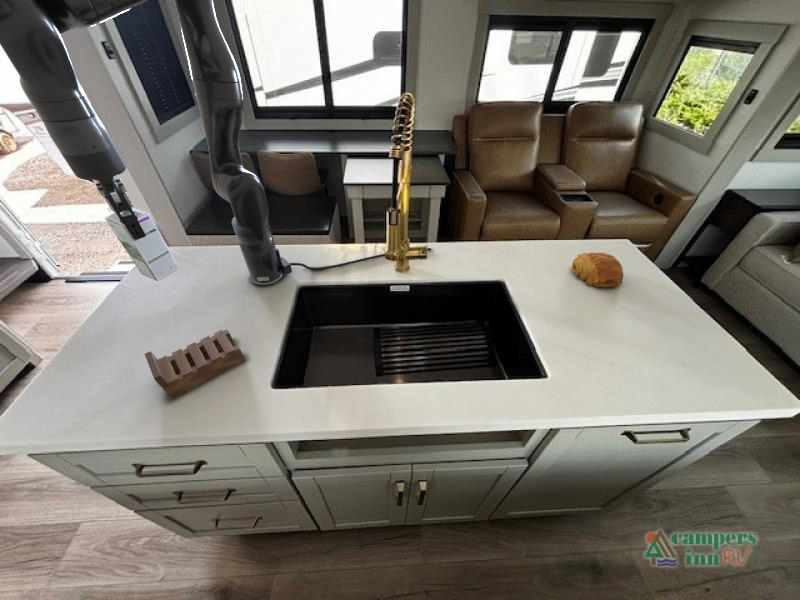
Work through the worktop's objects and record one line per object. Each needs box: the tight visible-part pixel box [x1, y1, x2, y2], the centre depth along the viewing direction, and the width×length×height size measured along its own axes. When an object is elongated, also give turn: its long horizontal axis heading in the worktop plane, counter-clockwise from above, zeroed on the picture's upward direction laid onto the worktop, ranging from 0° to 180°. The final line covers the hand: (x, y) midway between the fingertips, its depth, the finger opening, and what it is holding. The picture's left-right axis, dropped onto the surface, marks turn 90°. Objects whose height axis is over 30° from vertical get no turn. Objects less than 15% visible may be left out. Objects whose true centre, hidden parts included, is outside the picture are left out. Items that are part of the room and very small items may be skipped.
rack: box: [144, 328, 246, 400], centre depth 73 cm, size 16×8×8 cm, turn 132°
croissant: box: [571, 251, 624, 288], centre depth 104 cm, size 14×16×8 cm
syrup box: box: [104, 207, 180, 282], centre depth 69 cm, size 6×6×14 cm
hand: (136, 229), depth 67 cm, fingers closed on syrup box, 7 cm apart
